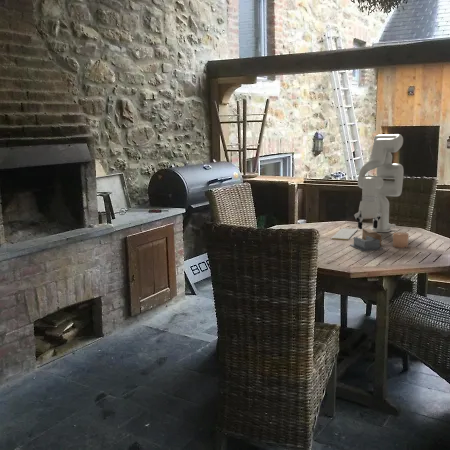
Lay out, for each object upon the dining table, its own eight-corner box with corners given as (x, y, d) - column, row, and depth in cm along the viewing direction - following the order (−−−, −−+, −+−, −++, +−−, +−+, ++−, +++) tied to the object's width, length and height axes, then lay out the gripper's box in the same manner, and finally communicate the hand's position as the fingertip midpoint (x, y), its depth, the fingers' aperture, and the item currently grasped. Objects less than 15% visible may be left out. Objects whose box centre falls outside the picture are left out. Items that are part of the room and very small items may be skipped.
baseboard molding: (327, 239, 307) (348, 241, 302) (327, 235, 307) (348, 236, 302) (338, 230, 335) (357, 231, 330) (339, 225, 334) (357, 226, 329)
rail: (368, 238, 307) (369, 228, 306) (381, 245, 287) (381, 235, 286) (362, 238, 307) (362, 228, 306) (374, 246, 287) (374, 235, 286)
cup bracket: (369, 243, 292) (369, 235, 291) (382, 249, 278) (383, 240, 278) (350, 245, 289) (350, 236, 288) (363, 251, 275) (363, 241, 274)
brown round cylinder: (402, 244, 290) (402, 231, 289) (411, 247, 282) (411, 234, 281) (389, 245, 288) (390, 232, 287) (398, 248, 280) (398, 235, 279)
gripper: (378, 197, 302) (377, 226, 305) (351, 198, 297) (350, 228, 300) (385, 199, 295) (384, 228, 297) (358, 200, 290) (357, 230, 293)
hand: (367, 228), depth 299 cm, fingers open, 9 cm apart
